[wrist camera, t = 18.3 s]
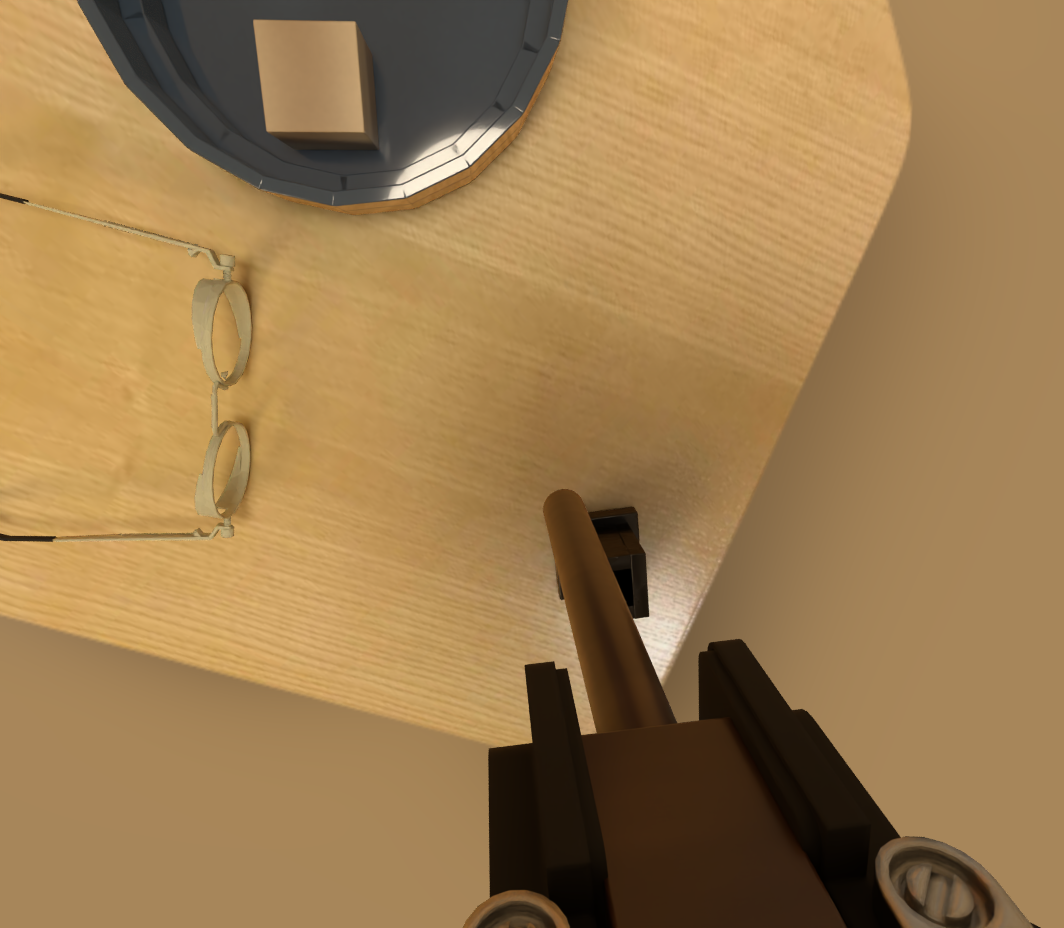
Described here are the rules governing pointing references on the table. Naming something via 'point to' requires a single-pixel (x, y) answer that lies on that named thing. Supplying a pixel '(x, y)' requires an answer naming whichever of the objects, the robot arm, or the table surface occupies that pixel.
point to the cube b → (317, 84)
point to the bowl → (399, 78)
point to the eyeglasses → (203, 327)
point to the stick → (671, 777)
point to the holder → (623, 556)
